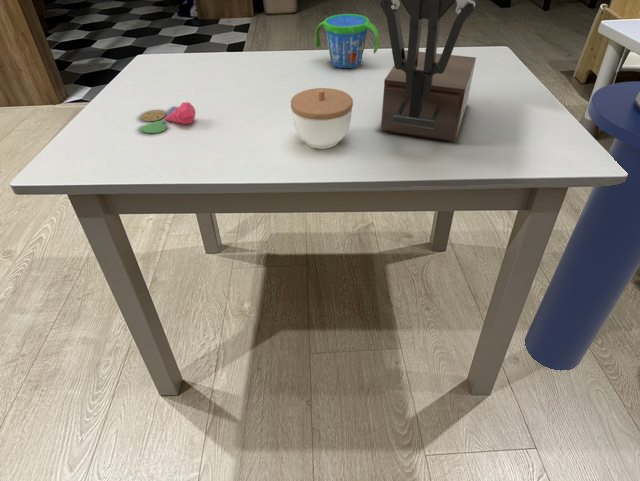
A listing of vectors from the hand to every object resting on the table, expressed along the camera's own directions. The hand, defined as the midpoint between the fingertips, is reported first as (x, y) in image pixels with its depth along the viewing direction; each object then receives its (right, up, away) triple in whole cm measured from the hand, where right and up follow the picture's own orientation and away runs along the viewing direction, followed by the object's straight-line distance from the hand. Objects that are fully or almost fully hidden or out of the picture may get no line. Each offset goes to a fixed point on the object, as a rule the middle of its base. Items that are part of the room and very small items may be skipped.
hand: (415, 113), depth 73 cm
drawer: (+4, +2, +13) cm, 13 cm away
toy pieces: (-45, +4, +18) cm, 49 cm away
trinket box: (-15, -2, +11) cm, 18 cm away
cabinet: (+5, +4, +16) cm, 18 cm away
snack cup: (-9, +23, +39) cm, 46 cm away
